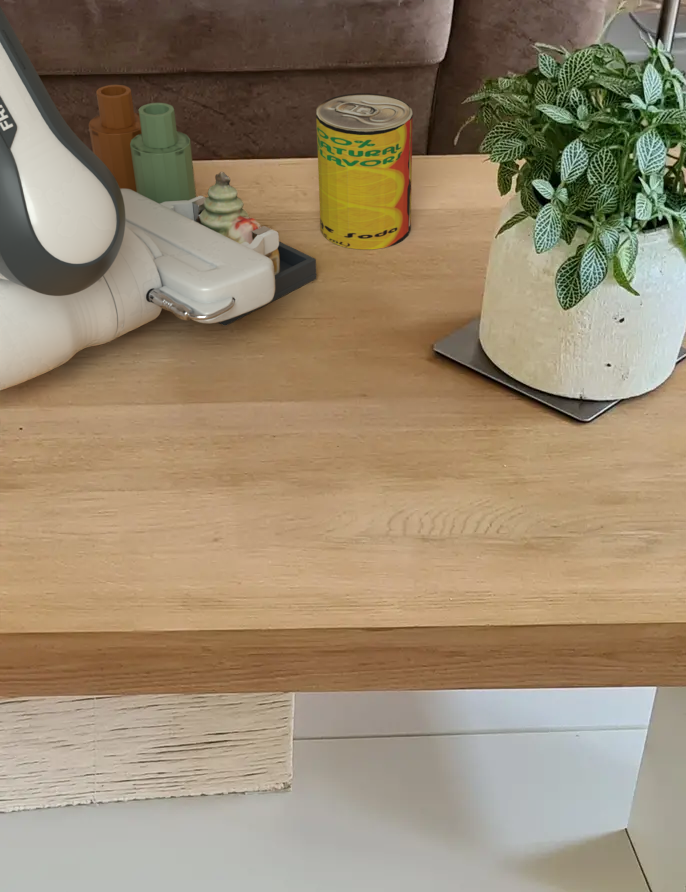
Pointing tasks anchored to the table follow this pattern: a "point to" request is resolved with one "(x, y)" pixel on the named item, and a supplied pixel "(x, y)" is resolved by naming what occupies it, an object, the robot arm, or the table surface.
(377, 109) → the beverage can
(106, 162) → the amber bottle
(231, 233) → the ornament
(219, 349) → the table surface
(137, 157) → the green bottle
